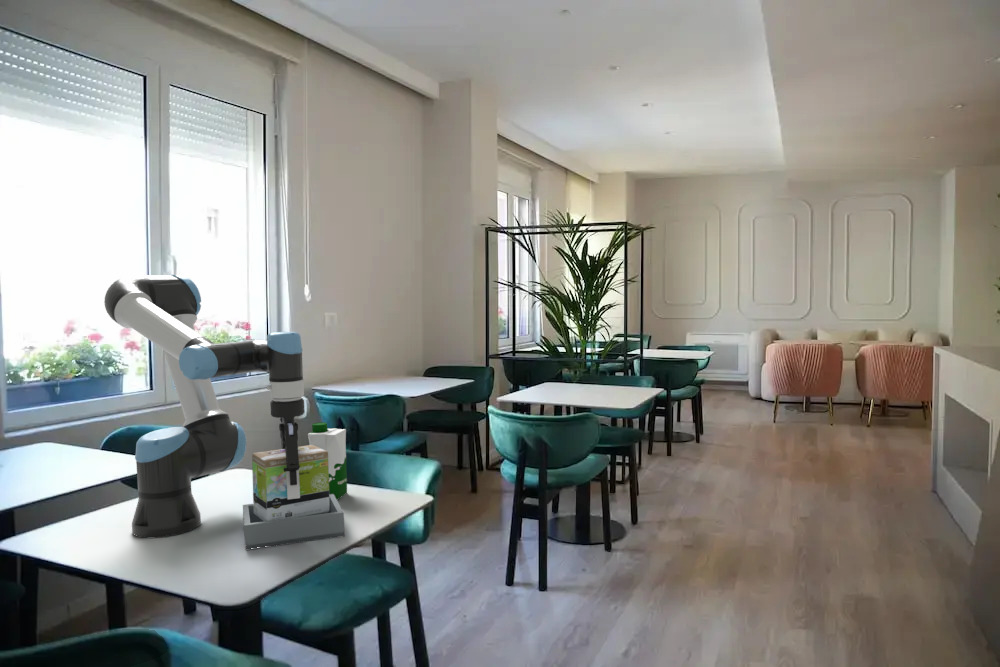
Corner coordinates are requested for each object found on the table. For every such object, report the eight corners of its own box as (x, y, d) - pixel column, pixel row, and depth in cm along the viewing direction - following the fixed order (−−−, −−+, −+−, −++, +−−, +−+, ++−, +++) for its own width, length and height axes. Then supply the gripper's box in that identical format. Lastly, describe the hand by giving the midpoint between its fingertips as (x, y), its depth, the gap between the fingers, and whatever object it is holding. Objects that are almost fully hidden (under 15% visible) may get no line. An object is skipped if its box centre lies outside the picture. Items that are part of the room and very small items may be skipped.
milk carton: (321, 491, 207) (318, 420, 205) (352, 492, 205) (349, 421, 204) (307, 500, 198) (304, 426, 197) (338, 501, 196) (335, 427, 195)
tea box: (267, 525, 164) (264, 460, 163) (253, 514, 172) (250, 452, 171) (331, 512, 173) (328, 449, 172) (315, 502, 181) (312, 442, 180)
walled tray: (243, 527, 177) (242, 504, 177) (334, 515, 184) (333, 493, 184) (245, 550, 162) (244, 525, 161) (344, 536, 169) (343, 512, 169)
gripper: (267, 393, 181) (271, 481, 182) (273, 407, 159) (278, 507, 160) (298, 391, 183) (302, 477, 185) (309, 404, 161) (313, 503, 163)
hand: (291, 491), depth 172 cm, fingers closed on tea box, 11 cm apart
